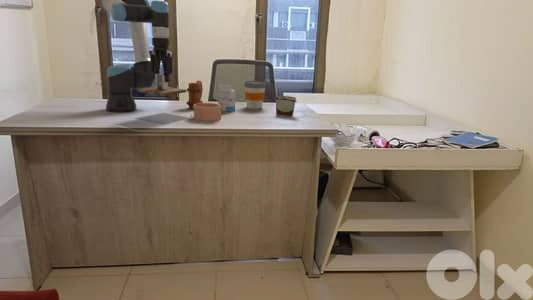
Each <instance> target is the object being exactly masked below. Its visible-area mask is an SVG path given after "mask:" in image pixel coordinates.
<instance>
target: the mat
mask: <svg viewBox="0 0 533 300" xmlns="http://www.w3.org/2000/svg"><path fill="white" fill-rule="evenodd" d="M133 119H134V120H135V119H136V120H138V121H139V120H140V121H144V122H149V123H153V124H158V125H162V126H163V125H167V124H171V123H177V122H180V121H186V120H190V119H191V117H187V116H181V115H178V114H172V113H171V114H170V113H167V112H166V113H165V112H161V113H155V114H151V115H146V116H140V117H134V118H133Z"/></svg>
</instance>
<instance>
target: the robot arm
mask: <svg viewBox="0 0 533 300" xmlns="http://www.w3.org/2000/svg"><path fill="white" fill-rule="evenodd" d="M101 6H102V8H103V9H104V10H105V11H106V12H107V13H110V14H111V18H112V19H113V21H115V22H121V23H123V22H127V23H128V22H129V27H130V34H131V41H132V47H133V49H132V50H133V54H134V59H135V60H134V61H135V62H134V63H133V64H132V65H131V64H130V63H129V64H128V63H126V64H125V63H124V64H116V65H115V64H114V65H110V66H108V68H107V69H106V70H107V71H106V77H107V87H108V88H107V90H108V97H107V100H106V104H105V110H106V111H107V112H111V113H113V112H114V113H126V112H127V113H128V112H133V111H136V110H137V104H136V101H135V98H134V96H133V90H137V89H141V88H150V87H156V88H158V86H157V74H163V75H162V78H163V89H168V87H169V81H170V77H169V75H172V74H173V57H174V52H171V51H169V46H170V38H169V37H170V29H169V27H170V26H169V25H170V20H169V19H170V17H169V12H170V9H169V3H168V1H162V0H151V2H150V0H101ZM147 24H151V36H152V38H151V44H150V40H149V33H148V26H147ZM150 45H152V46H153V47H152V50H151V46H150ZM161 67H162V71H163V72H162V71H161Z"/></svg>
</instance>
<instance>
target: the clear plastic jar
mask: <svg viewBox="0 0 533 300" xmlns="http://www.w3.org/2000/svg"><path fill="white" fill-rule="evenodd" d="M232 86H233V85H232V84H223V83H221V84H220V83H219V84H218V91H217V94H218V95H217V99H218V102H217V104H220V105H221V112H222V111H223V112H228V113H229V112H230V113H231V112H235V111H236V89H232Z"/></svg>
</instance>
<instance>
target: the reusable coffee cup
mask: <svg viewBox="0 0 533 300" xmlns="http://www.w3.org/2000/svg"><path fill="white" fill-rule="evenodd" d="M266 84H267V83H266V82H265V81H261V80H245V81H244V85H243V86H244V89H245V90H244V98H245V99H244V100H245V103H246V108H247V109H249V108H250V109H251V110H260V109H259V108H261V109H262V108H263V103H264V101H265V95H266V92H265V91H266V88H267V85H266Z"/></svg>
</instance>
